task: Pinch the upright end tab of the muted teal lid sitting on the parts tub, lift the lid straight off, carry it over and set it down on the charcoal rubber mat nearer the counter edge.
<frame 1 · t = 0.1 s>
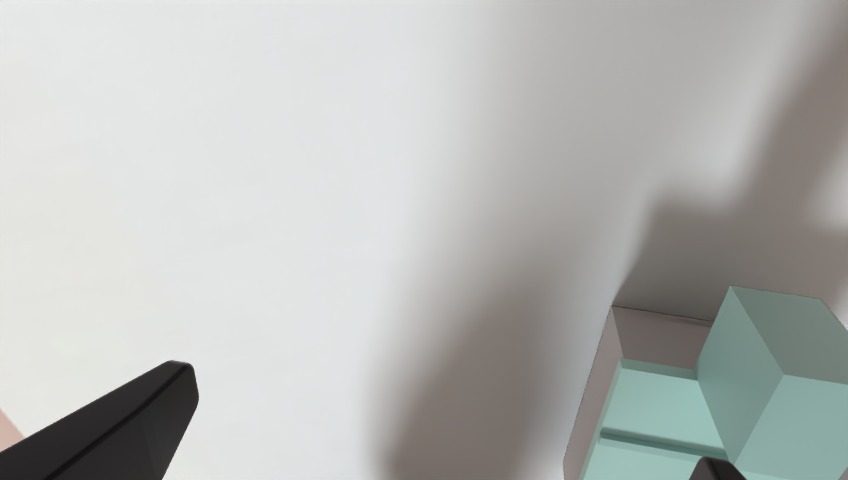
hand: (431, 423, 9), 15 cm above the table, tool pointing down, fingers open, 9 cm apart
lid: (685, 473, 23), point 4 cm above the table, touching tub
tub: (664, 405, 27), on the table
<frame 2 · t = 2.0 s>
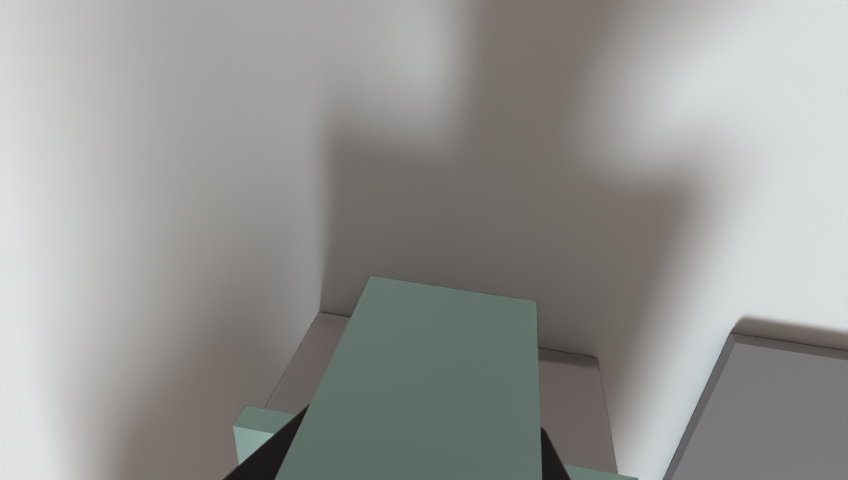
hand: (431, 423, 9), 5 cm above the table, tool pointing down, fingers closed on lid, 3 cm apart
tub: (437, 461, 18), on the table
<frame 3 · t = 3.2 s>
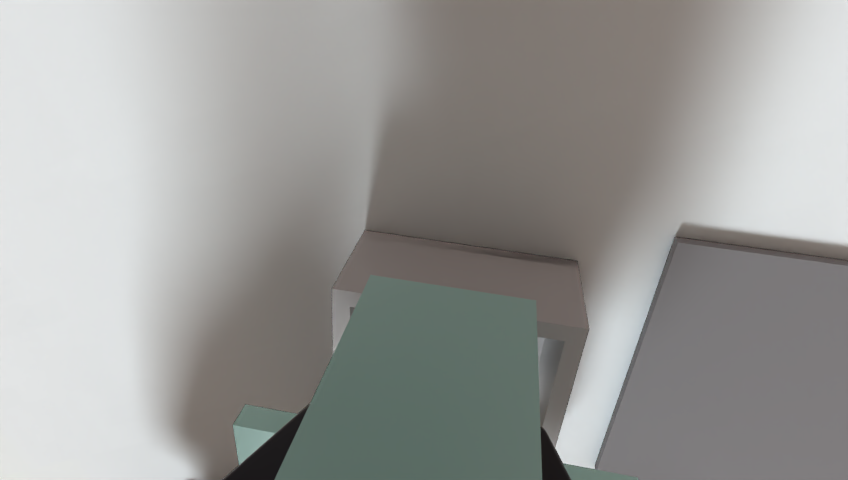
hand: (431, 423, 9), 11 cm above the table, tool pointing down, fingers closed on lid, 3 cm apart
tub: (453, 357, 22), on the table
mat: (760, 388, 21), on the table
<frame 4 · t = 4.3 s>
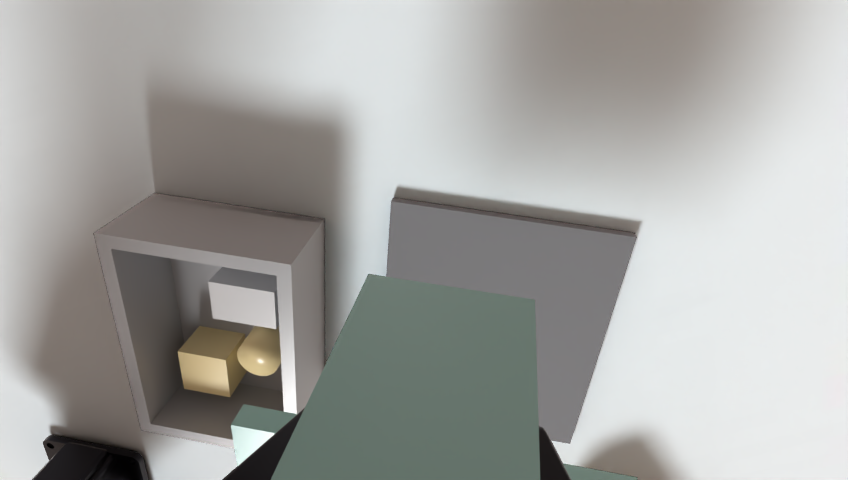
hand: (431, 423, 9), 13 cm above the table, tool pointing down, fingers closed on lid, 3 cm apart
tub: (247, 305, 26), on the table
mat: (489, 329, 25), on the table
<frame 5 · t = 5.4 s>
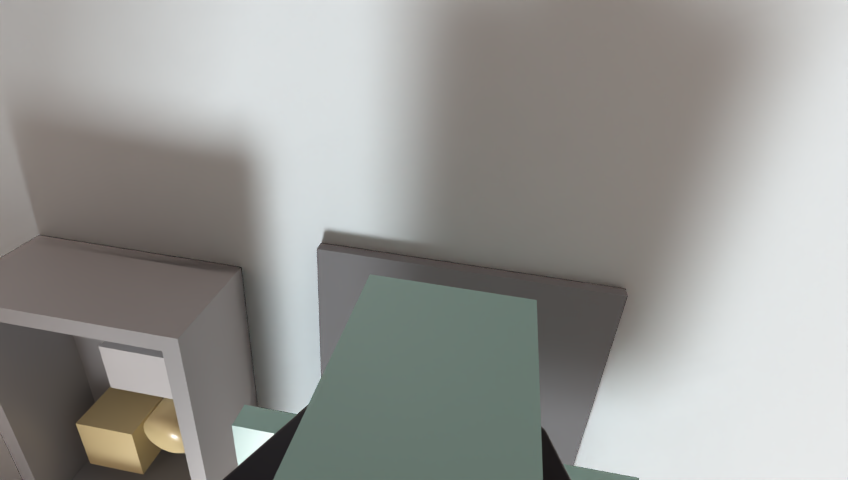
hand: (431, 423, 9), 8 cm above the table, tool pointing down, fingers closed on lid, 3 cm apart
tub: (163, 363, 22), on the table
mat: (450, 397, 20), on the table
when the fingers open (4 cm above the table, at t = 6.4 s): lid drops 1 cm, resting on mat.
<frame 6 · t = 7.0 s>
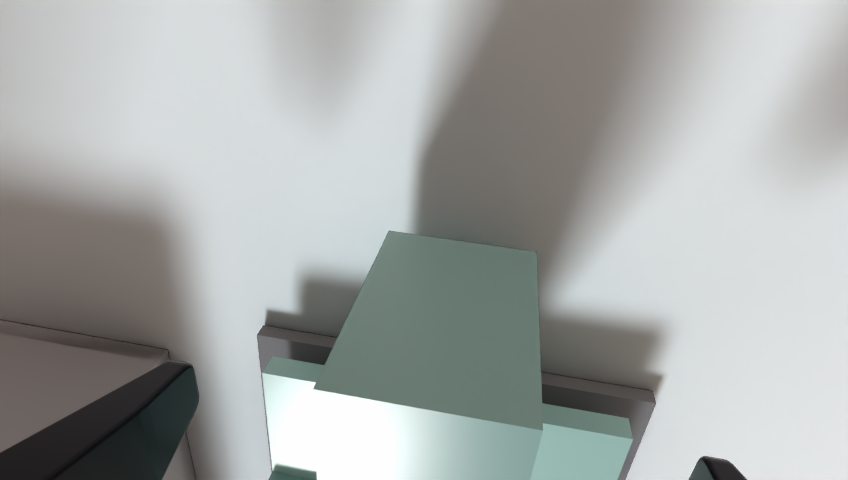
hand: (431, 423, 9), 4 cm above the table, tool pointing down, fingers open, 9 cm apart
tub: (86, 452, 18), on the table
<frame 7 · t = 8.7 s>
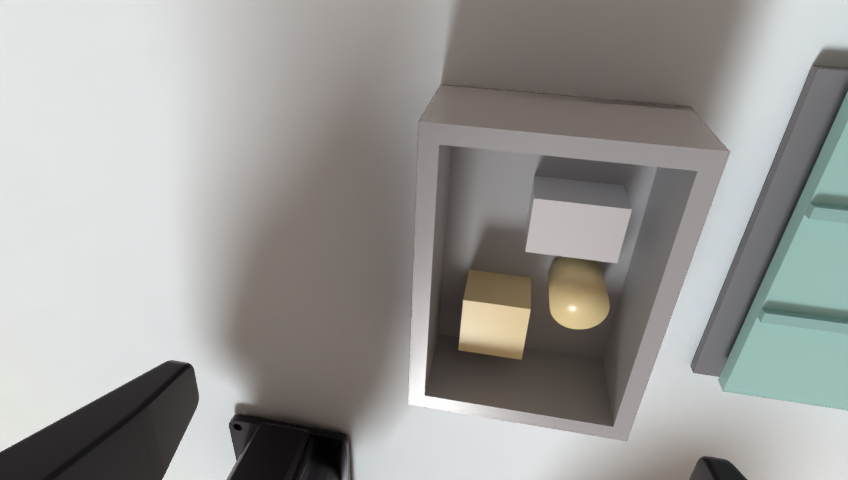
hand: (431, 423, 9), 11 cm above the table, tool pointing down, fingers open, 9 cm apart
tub: (536, 240, 20), on the table
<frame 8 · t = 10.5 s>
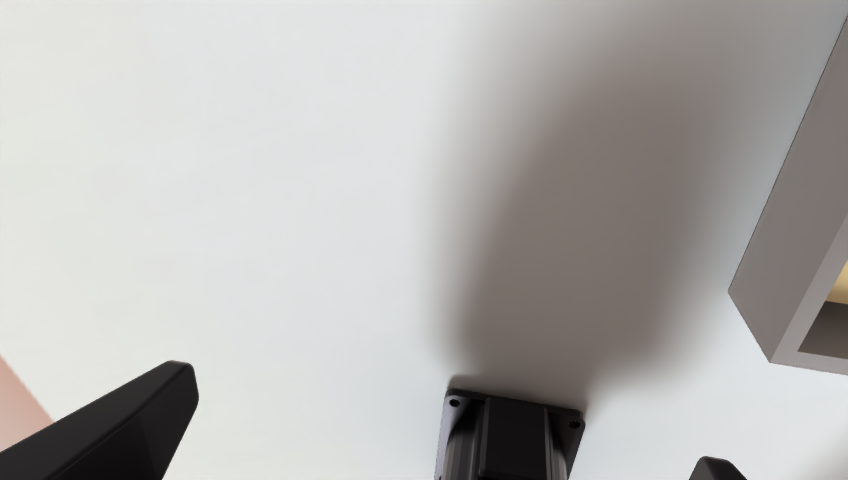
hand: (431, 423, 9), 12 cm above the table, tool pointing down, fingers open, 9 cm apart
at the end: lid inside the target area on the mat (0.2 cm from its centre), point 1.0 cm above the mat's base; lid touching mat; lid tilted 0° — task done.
